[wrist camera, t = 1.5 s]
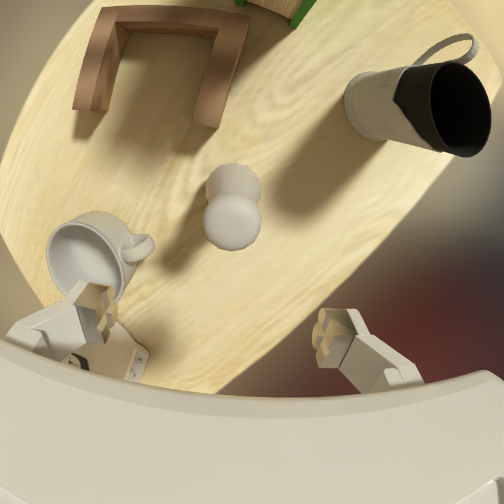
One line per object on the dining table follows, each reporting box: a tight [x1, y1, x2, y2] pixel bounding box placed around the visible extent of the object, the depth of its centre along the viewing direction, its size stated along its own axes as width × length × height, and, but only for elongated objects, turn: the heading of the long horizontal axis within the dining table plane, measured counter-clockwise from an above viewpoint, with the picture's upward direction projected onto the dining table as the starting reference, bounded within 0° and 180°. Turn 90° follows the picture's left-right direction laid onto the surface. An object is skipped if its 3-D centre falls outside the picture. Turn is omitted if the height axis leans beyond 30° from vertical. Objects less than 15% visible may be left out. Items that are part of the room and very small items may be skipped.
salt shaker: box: [203, 163, 262, 251], centre depth 25 cm, size 6×6×13 cm
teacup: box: [46, 211, 155, 303], centre depth 29 cm, size 14×11×8 cm
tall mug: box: [344, 33, 491, 157], centre depth 19 cm, size 9×14×15 cm, turn 154°
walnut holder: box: [72, 5, 250, 128], centre depth 22 cm, size 12×16×4 cm
